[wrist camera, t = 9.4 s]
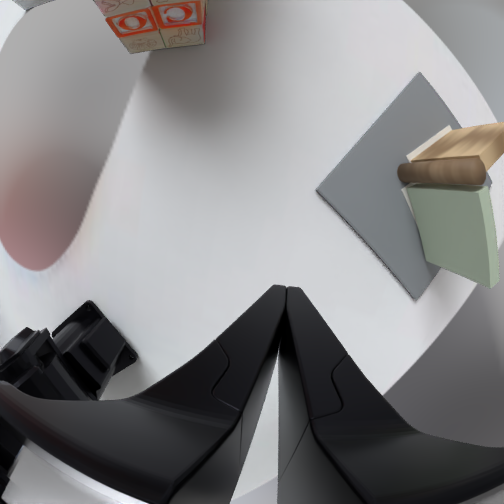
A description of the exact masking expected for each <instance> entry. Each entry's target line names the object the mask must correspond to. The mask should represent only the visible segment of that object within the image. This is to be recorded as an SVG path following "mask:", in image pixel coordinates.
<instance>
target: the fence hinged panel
mask: <svg viewBox="0 0 504 504" xmlns="http://www.w3.org/2000/svg"><path fill="white" fill-rule="evenodd" d="M407 191H408V194H409V197H410V200H411V204H412V207H413V210H414V214H415V217H416V221H417V225H418V229H419V232H420V236H421V240H422V245H423V249H424V253H425V258H426V261H428V262H430V263H432V264H435V265H437V266H440V267H442V268H444V269H447V270H449V271H451V272H454V273H456V274H458V275H461V276H463V277H465V278H467V279H470V280H472V281H474V282H476V283H479V284H481V285H483V286H485V287H488V288H489V289H491V288H492V287H493V286H494V285H495V284H496V283H497V282H498V281H499V260H498V247H497V237H496V229H495V222H494V215H493V209H492V203H491V198H490V193H489V188H488V186H476V185H458V184H430V183H416V184H414V185H412V186H410V187H408V188H407Z"/></svg>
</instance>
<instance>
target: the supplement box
mask: <svg viewBox="0 0 504 504" xmlns="http://www.w3.org/2000/svg"><path fill="white" fill-rule="evenodd" d="M13 1H14V2H15V3H17V4H18V5H19V6H20V7H22V8H23V9H24V10H27V9H30V8H32V7H35V6H38V5H41V4H44V3H47V2H50V1H54V0H13Z"/></svg>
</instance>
